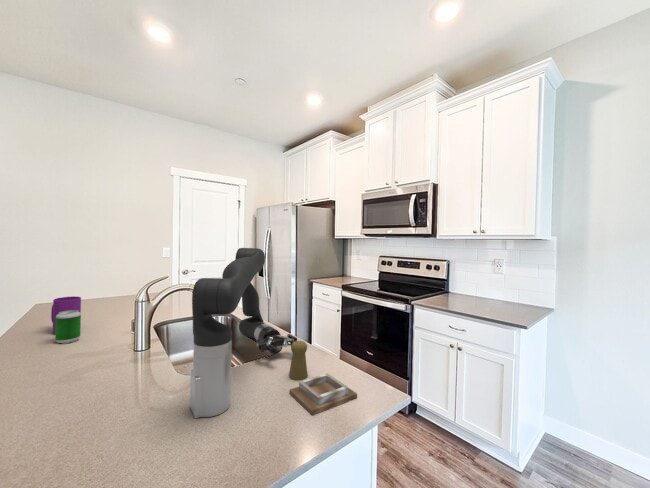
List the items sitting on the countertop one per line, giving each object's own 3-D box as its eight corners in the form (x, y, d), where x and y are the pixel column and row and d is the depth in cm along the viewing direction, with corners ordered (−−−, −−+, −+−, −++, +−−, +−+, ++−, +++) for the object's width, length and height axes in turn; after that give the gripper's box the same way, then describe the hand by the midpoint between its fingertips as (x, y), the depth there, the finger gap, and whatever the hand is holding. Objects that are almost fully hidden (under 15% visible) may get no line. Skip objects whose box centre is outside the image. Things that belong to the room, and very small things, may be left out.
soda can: (83, 340, 117) (83, 311, 117) (58, 346, 111) (59, 315, 111) (76, 336, 121) (76, 308, 121) (52, 341, 115) (53, 312, 115)
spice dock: (312, 415, 71) (312, 402, 71) (289, 393, 81) (289, 382, 81) (357, 397, 80) (357, 386, 80) (331, 380, 90) (331, 370, 90)
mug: (59, 336, 121) (60, 301, 121) (39, 331, 127) (40, 297, 127) (84, 330, 130) (85, 297, 130) (64, 325, 135) (65, 294, 135)
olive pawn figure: (304, 381, 88) (305, 346, 88) (286, 379, 90) (287, 344, 90) (309, 372, 94) (310, 339, 94) (292, 370, 96) (293, 338, 95)
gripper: (249, 329, 108) (267, 341, 95) (283, 323, 116) (304, 334, 103) (249, 348, 108) (266, 364, 95) (283, 342, 116) (303, 355, 103)
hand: (286, 349), depth 99 cm, fingers open, 8 cm apart
